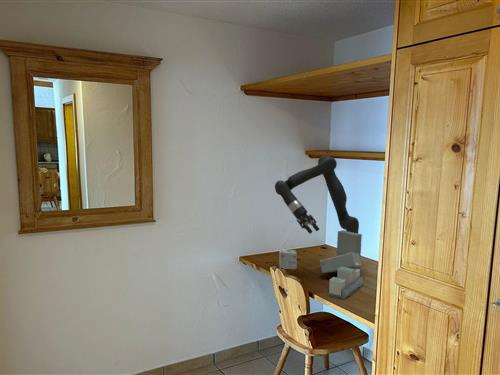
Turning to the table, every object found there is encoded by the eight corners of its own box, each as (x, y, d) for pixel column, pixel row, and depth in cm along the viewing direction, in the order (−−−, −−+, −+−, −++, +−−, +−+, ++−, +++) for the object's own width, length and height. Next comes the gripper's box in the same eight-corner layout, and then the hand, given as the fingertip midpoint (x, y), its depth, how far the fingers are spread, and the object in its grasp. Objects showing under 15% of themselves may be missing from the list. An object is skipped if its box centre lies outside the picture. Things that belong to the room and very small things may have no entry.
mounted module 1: (333, 289, 208) (333, 276, 207) (344, 292, 204) (345, 279, 203) (329, 292, 204) (329, 279, 203) (340, 295, 200) (341, 281, 199)
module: (340, 284, 216) (341, 266, 215) (352, 287, 212) (353, 268, 211) (336, 286, 212) (337, 268, 211) (349, 289, 208) (350, 271, 207)
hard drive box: (322, 273, 227) (354, 265, 218) (318, 260, 229) (351, 252, 220) (331, 273, 240) (362, 265, 231) (327, 260, 242) (358, 252, 233)
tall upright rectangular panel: (360, 274, 237) (362, 234, 234) (354, 276, 233) (356, 235, 230) (341, 268, 248) (343, 230, 245) (335, 270, 244) (337, 231, 241)
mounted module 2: (348, 279, 225) (348, 266, 224) (359, 281, 221) (359, 269, 220) (344, 281, 221) (345, 269, 220) (355, 284, 217) (356, 271, 216)
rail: (347, 281, 225) (347, 273, 225) (362, 284, 220) (362, 277, 219) (327, 295, 204) (328, 286, 204) (344, 299, 199) (344, 290, 198)
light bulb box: (295, 266, 252) (295, 249, 250) (296, 269, 245) (297, 252, 244) (278, 266, 251) (279, 249, 250) (279, 269, 245) (280, 252, 243)
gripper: (295, 206, 220) (313, 229, 215) (307, 203, 232) (324, 225, 226) (287, 215, 224) (304, 237, 219) (299, 211, 235) (316, 233, 230)
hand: (314, 231), depth 222 cm, fingers open, 8 cm apart
